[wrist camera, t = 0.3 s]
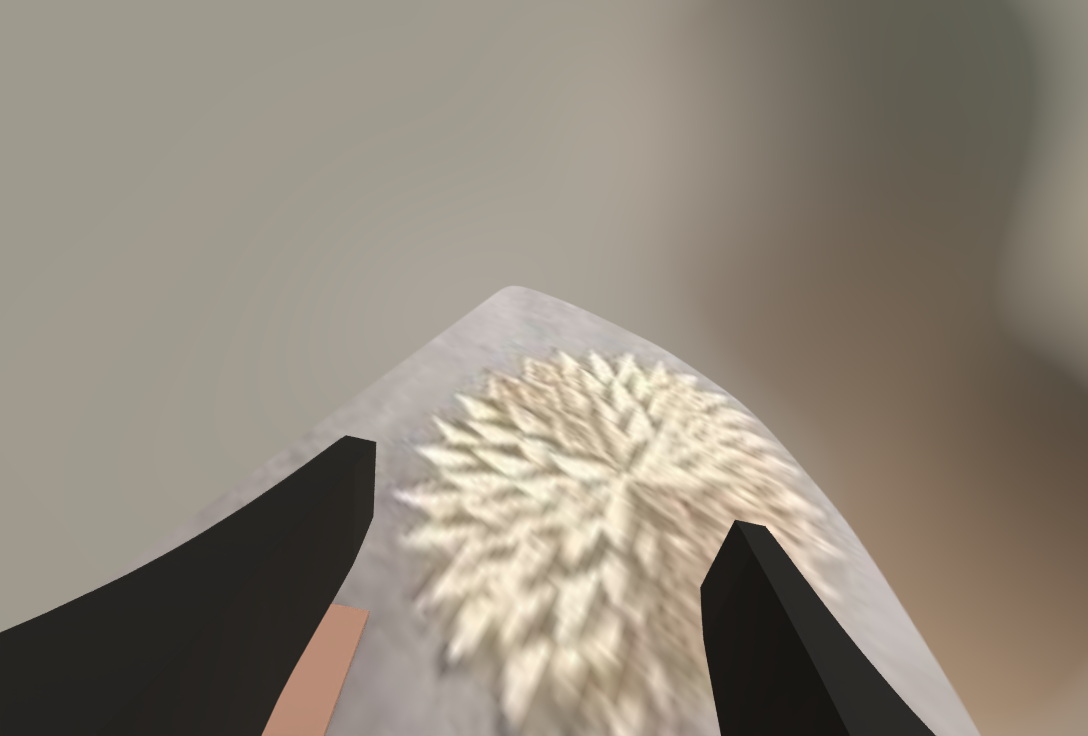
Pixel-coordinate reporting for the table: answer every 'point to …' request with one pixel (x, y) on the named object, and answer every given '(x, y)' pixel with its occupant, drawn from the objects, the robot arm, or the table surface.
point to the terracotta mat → (318, 675)
